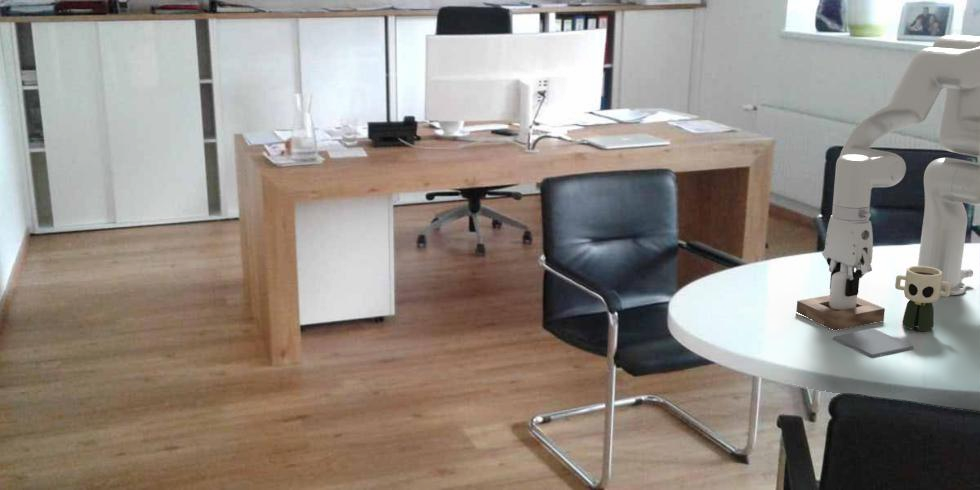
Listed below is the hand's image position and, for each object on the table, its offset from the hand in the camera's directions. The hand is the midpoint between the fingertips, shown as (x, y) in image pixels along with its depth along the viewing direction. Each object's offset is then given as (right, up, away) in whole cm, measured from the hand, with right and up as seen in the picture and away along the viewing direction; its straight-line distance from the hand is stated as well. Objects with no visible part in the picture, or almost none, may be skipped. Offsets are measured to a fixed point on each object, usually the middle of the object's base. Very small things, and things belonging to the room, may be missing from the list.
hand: (843, 291), depth 224 cm
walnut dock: (-1, -6, +1) cm, 6 cm away
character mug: (+14, -8, -5) cm, 17 cm away
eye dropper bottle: (0, -4, +1) cm, 4 cm away
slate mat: (+1, -10, -14) cm, 17 cm away
